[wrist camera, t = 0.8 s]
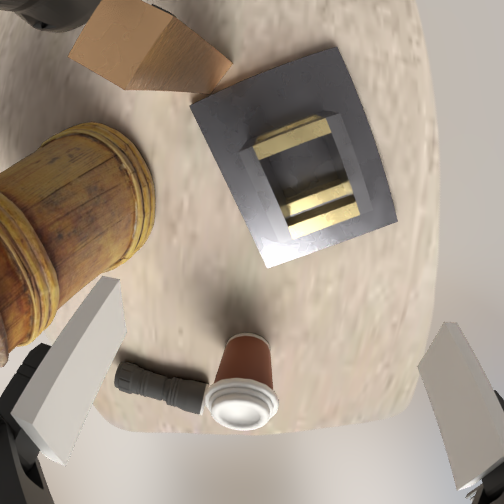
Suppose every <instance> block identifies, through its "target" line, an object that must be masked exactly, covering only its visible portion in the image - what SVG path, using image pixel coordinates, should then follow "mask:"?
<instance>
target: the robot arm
mask: <svg viewBox="0 0 504 504" xmlns="http://www.w3.org/2000/svg"><path fill="white" fill-rule="evenodd" d="M101 1H102V0H0V10H5V11H12V12H14V13H16V14H17V15H18V16H20V17H21V18H22V19H23V20H25V21H26V22H27V23H28V24H30V25H31V26H32V27H34V28H36V29H39V30H42V31H48V32H65V31H69V30H72V29H75V28H77V27H79V26H81V25H83V24H85V23H86V22H88V20H89V19H90V17H91V16H92V14H93V13H94V11H95V10H96V8H97V6H98V5H99V4H100V2H101ZM126 333H127V330H126V323H125V316H124V309H123V302H122V294H121V285H120V279H115V278H110V277H105V276H102V277H101V278H100V280H99V281H98V282H97V284H96V285H95V286H94V288H93V289H92V290H91V292H90V293H89V294H88V296H87V297H86V298H85V300H84V301H83V302H82V304H81V305H80V306H79V308H78V309H77V311H76V312H75V313H74V315H73V316H72V318H71V319H70V320H69V322H68V323H67V325H66V326H65V328H64V329H63V330H62V332H61V333H60V335H59V336H58V338H57V339H56V341H55V342H54V344H53V345H52V346H49V345H46V344H43V343H41V344H39V345H38V346H37V347H35V348H34V349H33V350H31V351H30V352H29V354H28V355H27V357H26V358H25V360H24V361H23V364H22V365H20V367H19V369H18V370H17V373H16V374H15V375H14V376H13V378H12V379H11V381H10V382H9V384H8V386H7V387H6V389H5V390H4V392H3V393H2V395H1V397H0V504H54V502H53V499H52V497H51V494H50V492H49V489H48V486H47V483H46V480H45V478H44V475H43V472H42V469H41V466H40V462H39V460H38V458H37V456H38V454H39V451H41V452H42V453H43V455H44V456H45V457H46V458H48V459H50V460H53V461H55V462H57V463H59V464H62V465H64V466H66V465H67V463H68V460H69V457H70V455H71V452H72V450H73V448H74V446H75V443H76V441H77V438H78V436H79V434H80V431H81V429H82V427H83V424H84V422H85V420H86V417H87V415H88V413H89V411H90V408H91V406H92V404H93V402H94V400H95V397H96V395H97V393H98V391H99V389H100V387H101V384H102V382H103V380H104V378H105V376H106V374H107V372H108V370H109V368H110V366H111V363H112V361H113V359H114V357H115V355H116V353H117V351H118V349H119V347H120V345H121V343H122V341H123V339H124V337H125V335H126ZM417 367H418V370H419V372H420V375H421V377H422V380H423V383H424V385H425V388H426V391H427V394H428V396H429V399H430V402H431V405H432V408H433V411H434V414H435V417H436V420H437V423H438V426H439V429H440V432H441V435H442V438H443V442H444V445H445V448H446V451H447V455H448V458H449V462H450V466H451V469H452V473H453V477H454V481H455V484H456V489H457V490H461V489H464V488H467V487H470V486H472V485H474V484H475V483H477V482H478V481H479V480H481V479H482V482H483V483H482V484H481V485H480V486H478V487H477V488H475V489H474V490H472V491H471V492H469V493H468V494H467V496H466V497H465V498H469V497H470V496H472V495H473V494H475V493H476V494H475V496H473V497H472V498H471V499H470V500H471V501H473V502H472V504H504V400H503V398H502V397H501V396H500V395H499V394H498V393H497V391H496V390H493V388H492V386H491V384H490V382H489V380H488V378H487V376H486V374H485V372H484V370H483V368H482V367H481V365H480V363H479V361H478V359H477V357H476V355H475V353H474V352H473V350H472V348H471V346H470V345H469V343H468V341H467V339H466V337H465V336H464V334H463V332H462V331H461V329H460V327H459V325H458V324H457V323H454V322H444V323H443V325H442V327H441V328H440V330H439V332H438V334H437V335H436V337H435V339H434V340H433V342H432V344H431V345H430V347H429V349H428V350H427V352H426V354H425V355H424V357H423V358H422V360H421V361H420V363H419V365H418V366H417Z"/></svg>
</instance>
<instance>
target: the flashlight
mask: <svg viewBox="0 0 504 504" xmlns="http://www.w3.org/2000/svg"><path fill="white" fill-rule="evenodd" d="M114 384H115V387H117V388H119V390H120V391H123V392H126V393H129V394H131V393H134V394H140V395H141V396H142V395H143V396H144V397H146V396H147V397H151V398H154V399H157V400H162V399H163V401H166V403H167V405H171V406H174V407H176V406H177V407H178V408H180V409H182V410H184V411H187V412H191V413H195V414H200V415H202V414H203V410H204V406H205V392H206V391H207V389H208V388H209V384H206V383H202V382H198V381H194V380H182V379H179V378H176V377H173V378H172V379H170V378H169V379H167V377H165V376H162V375H159V374H155V373H153V372H151V371H150V372H149V371H148V370H147V371H145V369H143V368H139V366H138V365H135V364H132V363H129V362H126V363H124V362H121V363H120V364H119V366H118V368H117V371H116V374H115V380H114Z"/></svg>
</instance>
